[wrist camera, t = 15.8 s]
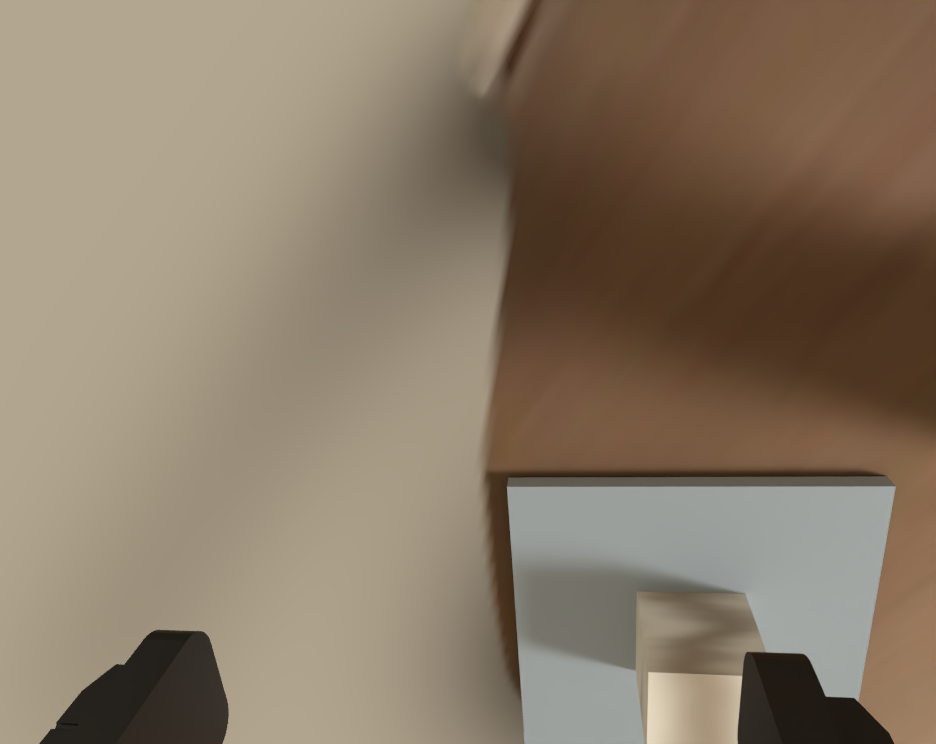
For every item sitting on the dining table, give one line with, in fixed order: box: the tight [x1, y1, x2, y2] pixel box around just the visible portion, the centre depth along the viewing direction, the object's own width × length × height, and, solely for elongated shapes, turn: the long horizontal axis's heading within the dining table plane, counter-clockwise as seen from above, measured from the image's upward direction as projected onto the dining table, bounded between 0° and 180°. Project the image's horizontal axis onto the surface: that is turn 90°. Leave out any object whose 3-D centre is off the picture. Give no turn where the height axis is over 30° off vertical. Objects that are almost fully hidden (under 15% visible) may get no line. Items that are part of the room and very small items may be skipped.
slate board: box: [507, 476, 896, 744], centre depth 41 cm, size 20×20×1 cm
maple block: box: [636, 591, 766, 744], centre depth 37 cm, size 6×6×6 cm
